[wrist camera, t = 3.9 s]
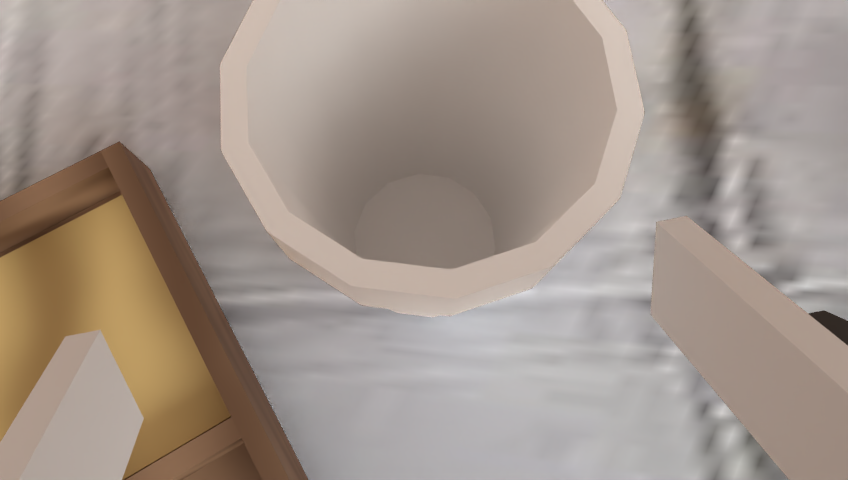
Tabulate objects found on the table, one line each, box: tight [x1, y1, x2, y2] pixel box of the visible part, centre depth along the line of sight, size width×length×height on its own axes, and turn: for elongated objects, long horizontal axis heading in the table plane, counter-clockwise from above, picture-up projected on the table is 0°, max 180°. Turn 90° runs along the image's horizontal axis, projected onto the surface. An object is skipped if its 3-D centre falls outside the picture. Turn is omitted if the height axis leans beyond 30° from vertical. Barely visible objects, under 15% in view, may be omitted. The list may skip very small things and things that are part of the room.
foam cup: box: [220, 0, 645, 317], centre depth 20 cm, size 10×9×13 cm
